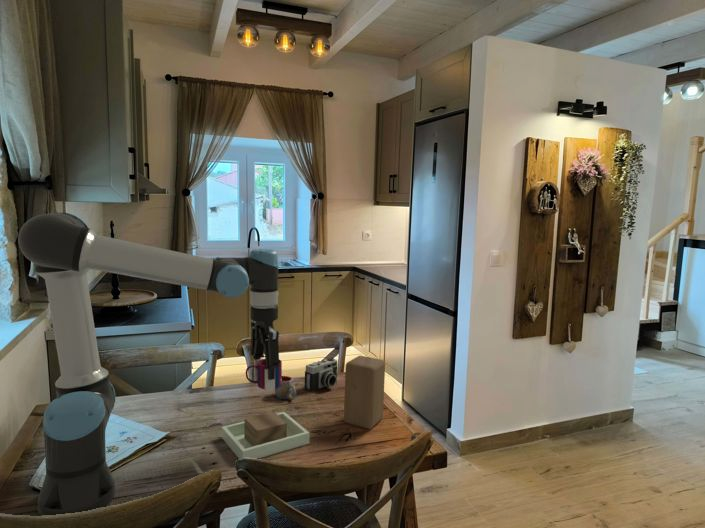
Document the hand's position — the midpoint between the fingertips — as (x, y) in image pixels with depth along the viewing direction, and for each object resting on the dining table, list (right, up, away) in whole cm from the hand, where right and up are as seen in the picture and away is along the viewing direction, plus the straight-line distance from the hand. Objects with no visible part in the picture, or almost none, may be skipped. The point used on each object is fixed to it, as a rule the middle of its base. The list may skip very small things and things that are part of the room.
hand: (264, 385), depth 132 cm
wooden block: (+28, -17, +20) cm, 38 cm away
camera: (+14, -13, +46) cm, 50 cm away
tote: (0, -17, +3) cm, 18 cm away
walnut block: (0, -17, +3) cm, 17 cm away
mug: (+2, -14, +35) cm, 38 cm away
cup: (0, 0, +1) cm, 1 cm away
